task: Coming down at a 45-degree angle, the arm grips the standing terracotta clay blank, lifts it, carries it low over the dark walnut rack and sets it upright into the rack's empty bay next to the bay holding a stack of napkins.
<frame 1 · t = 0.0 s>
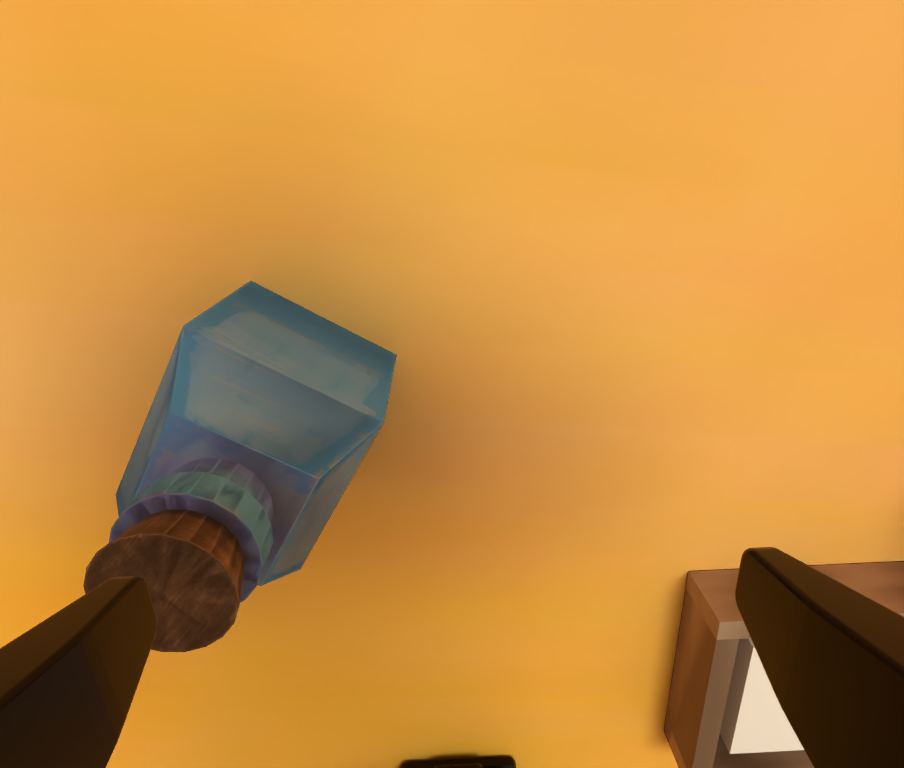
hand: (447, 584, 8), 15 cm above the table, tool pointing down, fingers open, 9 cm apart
perfume bottle: (295, 381, 23), on the table
rack: (875, 646, 29), on the table
napkin stack: (789, 664, 28), point 1 cm above the table, touching rack
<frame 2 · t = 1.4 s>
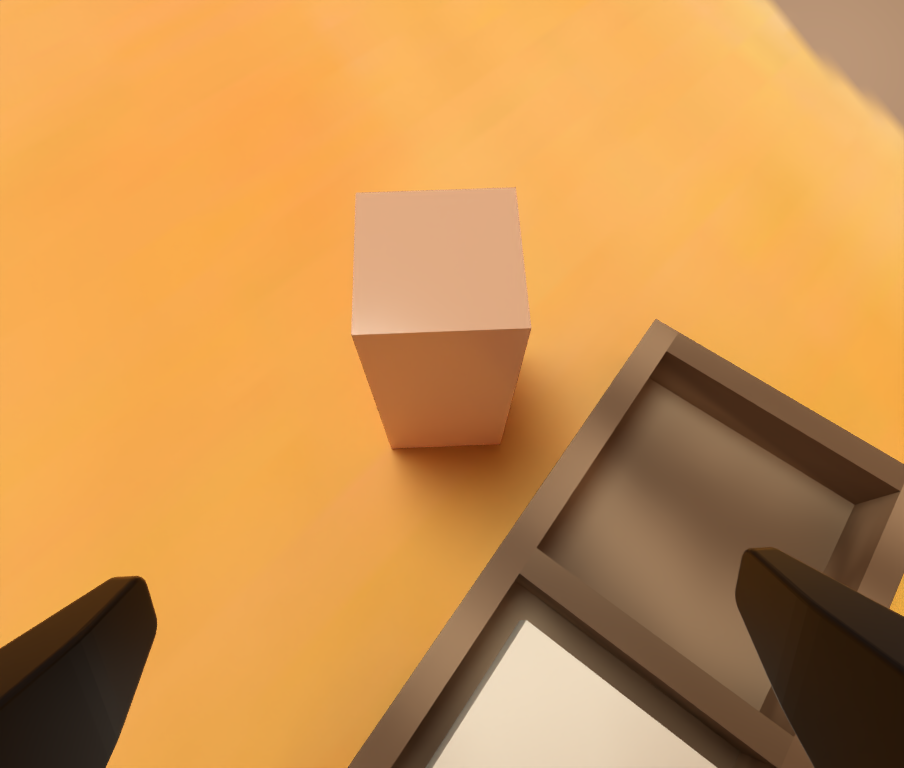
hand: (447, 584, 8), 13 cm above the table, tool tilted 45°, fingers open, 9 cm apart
rack: (621, 646, 20), on the table
clay blank: (444, 395, 24), on the table
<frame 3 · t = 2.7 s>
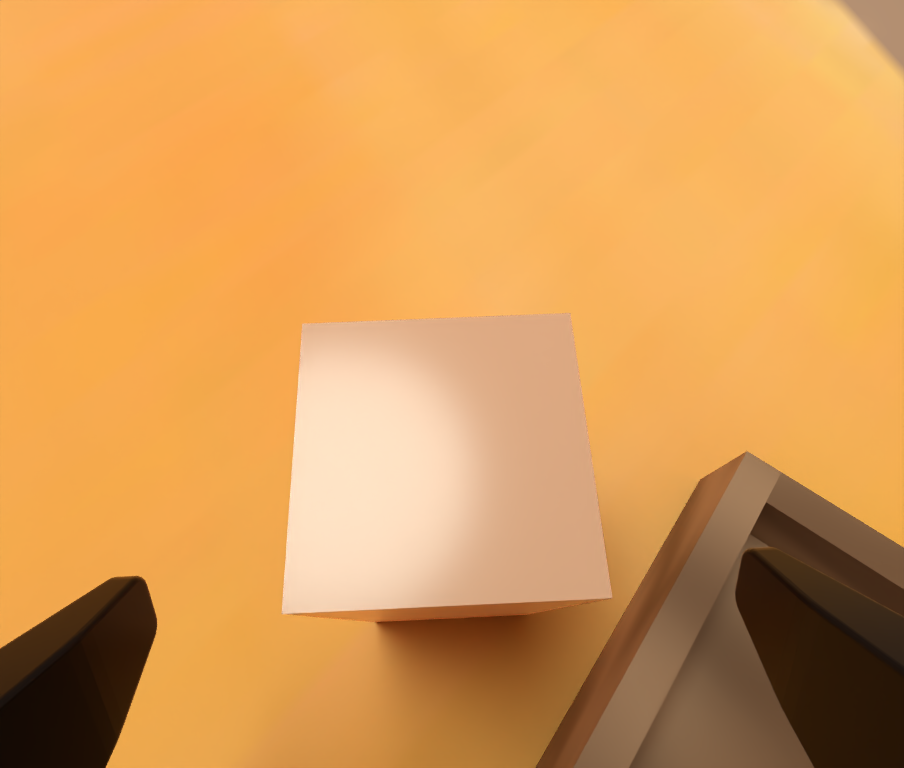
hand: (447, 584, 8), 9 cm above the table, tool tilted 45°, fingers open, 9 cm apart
clay blank: (447, 541, 18), on the table
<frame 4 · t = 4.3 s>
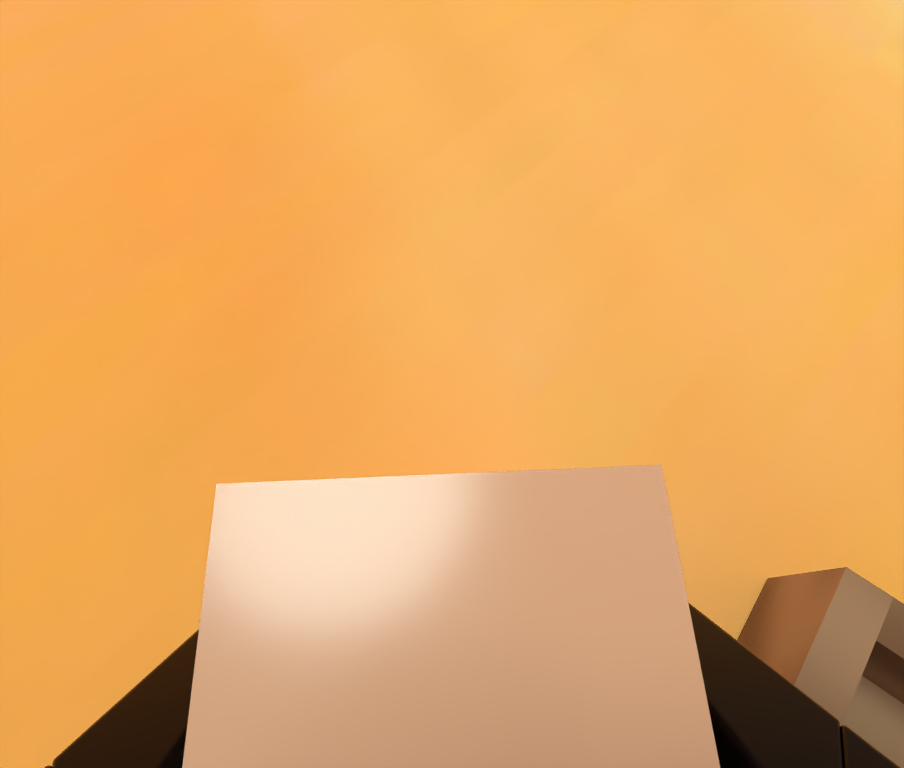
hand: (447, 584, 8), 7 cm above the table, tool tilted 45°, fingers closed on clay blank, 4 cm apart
clay blank: (451, 660, 14), on the table, touching gripper
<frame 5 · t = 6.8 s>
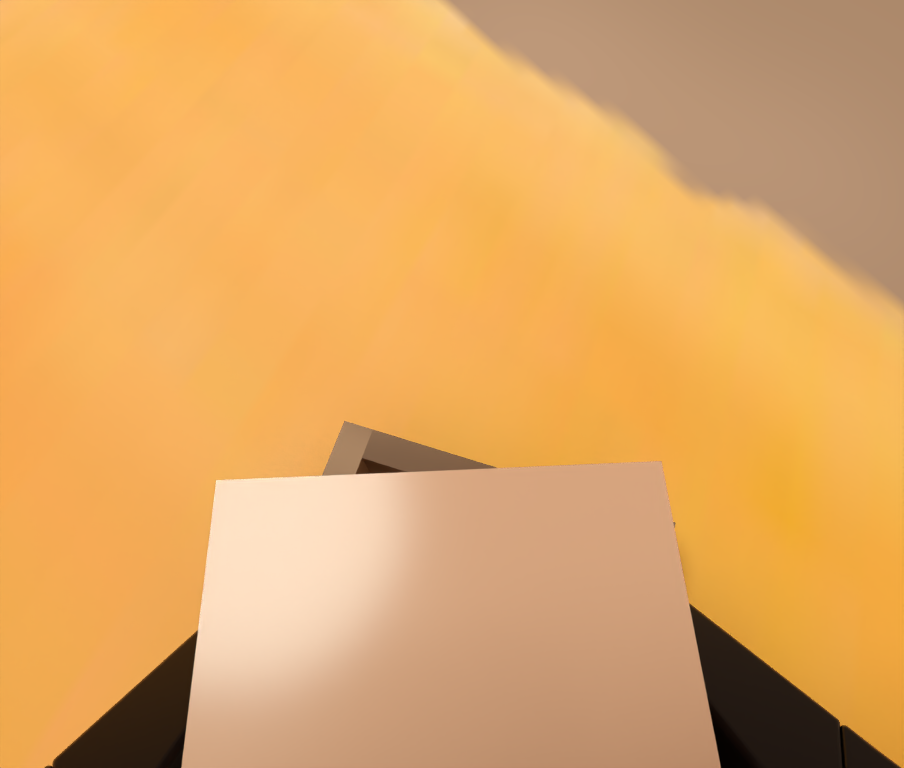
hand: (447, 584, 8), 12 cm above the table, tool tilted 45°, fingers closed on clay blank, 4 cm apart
clay blank: (451, 659, 14), point 5 cm above the table, touching gripper
when the fingers open (8 cm above the table, at t = 7.7 s): clay blank drops 1 cm, resting on rack.
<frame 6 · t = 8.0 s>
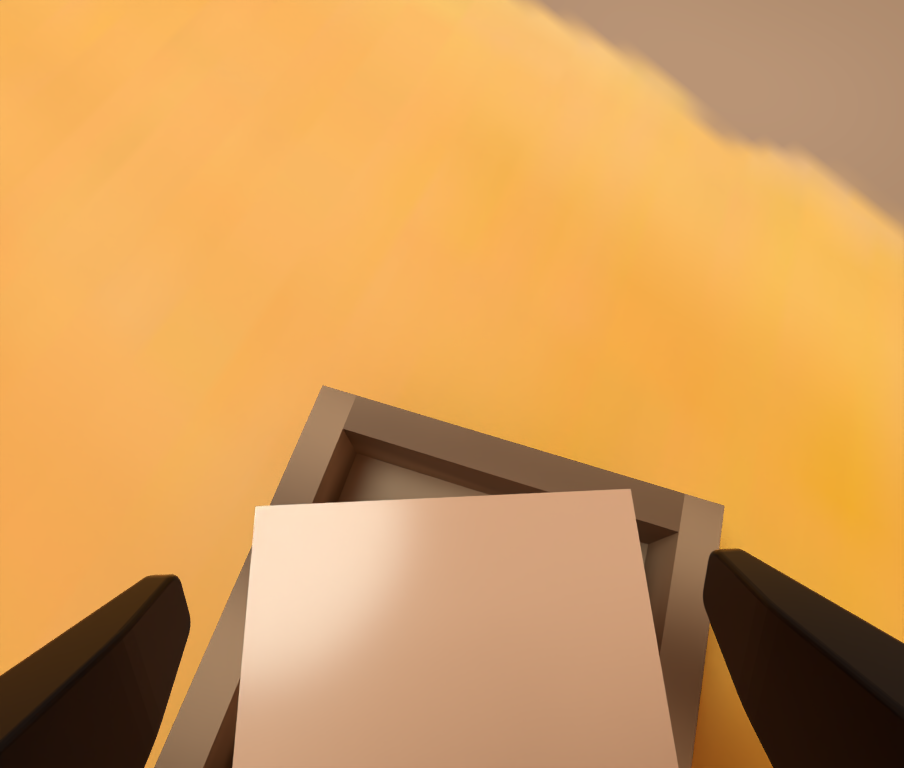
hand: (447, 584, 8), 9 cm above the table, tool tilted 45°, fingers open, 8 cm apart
clay blank: (452, 657, 15), point 1 cm above the table, touching rack
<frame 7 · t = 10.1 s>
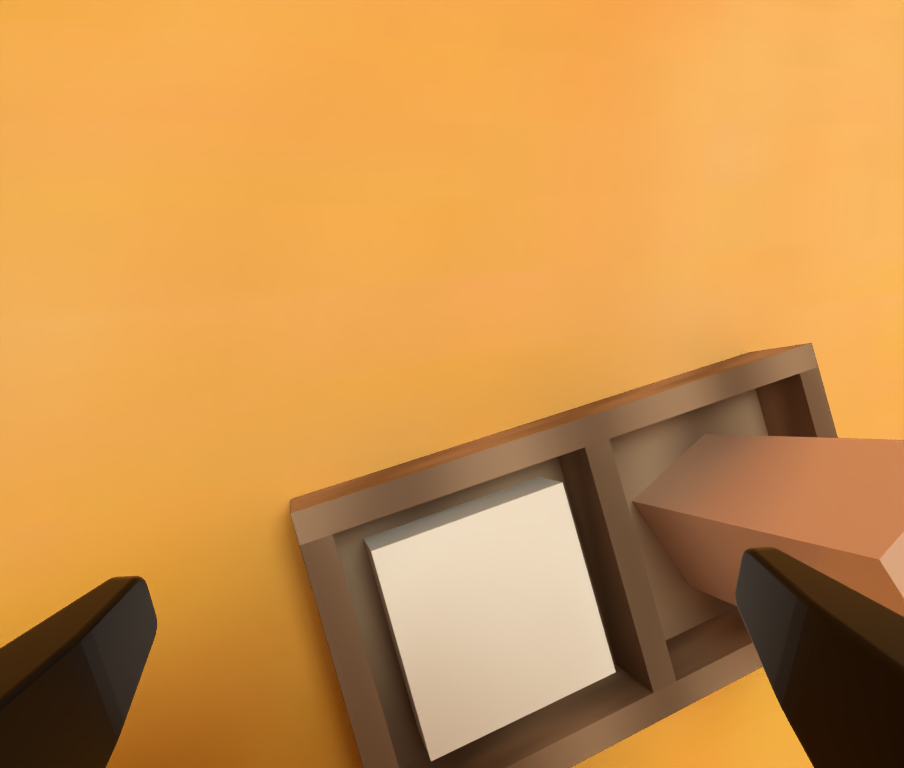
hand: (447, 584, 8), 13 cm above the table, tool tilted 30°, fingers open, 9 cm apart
rack: (585, 545, 23), on the table
napkin stack: (480, 597, 21), point 1 cm above the table, touching rack
clay blank: (697, 509, 24), point 1 cm above the table, touching rack
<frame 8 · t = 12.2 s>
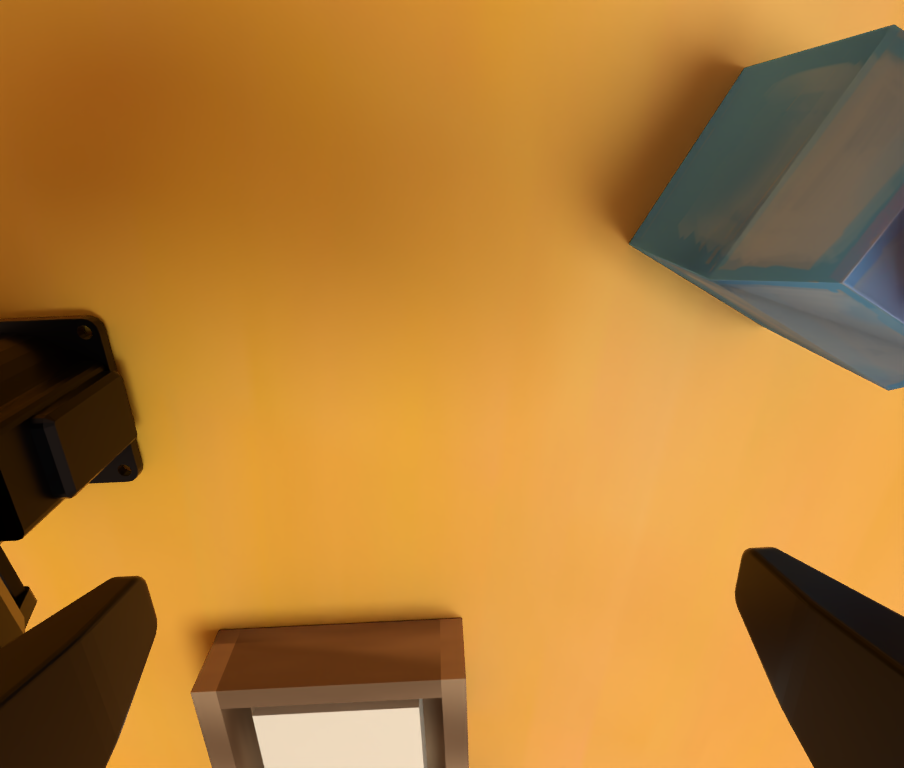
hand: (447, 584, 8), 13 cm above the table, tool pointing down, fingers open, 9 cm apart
perfume bottle: (751, 207, 19), on the table
napkin stack: (350, 725, 27), point 1 cm above the table, touching rack
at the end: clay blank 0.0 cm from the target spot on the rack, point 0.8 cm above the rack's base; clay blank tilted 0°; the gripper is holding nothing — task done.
